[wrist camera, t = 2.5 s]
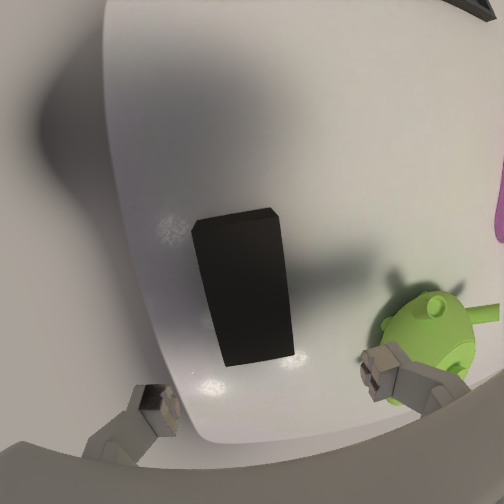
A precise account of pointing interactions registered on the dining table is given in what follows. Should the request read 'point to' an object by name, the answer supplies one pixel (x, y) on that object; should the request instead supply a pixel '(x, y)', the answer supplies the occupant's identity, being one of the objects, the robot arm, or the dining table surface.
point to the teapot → (437, 331)
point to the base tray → (476, 8)
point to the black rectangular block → (245, 285)
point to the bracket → (500, 213)
